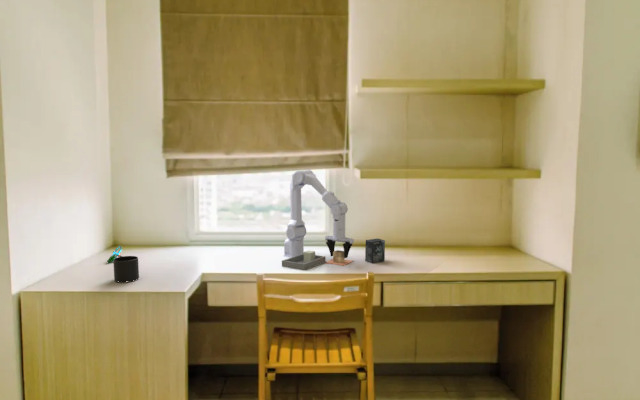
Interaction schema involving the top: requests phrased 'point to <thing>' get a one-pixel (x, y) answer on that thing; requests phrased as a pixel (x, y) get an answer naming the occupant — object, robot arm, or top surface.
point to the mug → (126, 268)
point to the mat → (339, 263)
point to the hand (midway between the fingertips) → (339, 256)
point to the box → (375, 250)
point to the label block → (338, 256)
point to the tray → (302, 262)
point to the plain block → (309, 256)
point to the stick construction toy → (115, 254)
